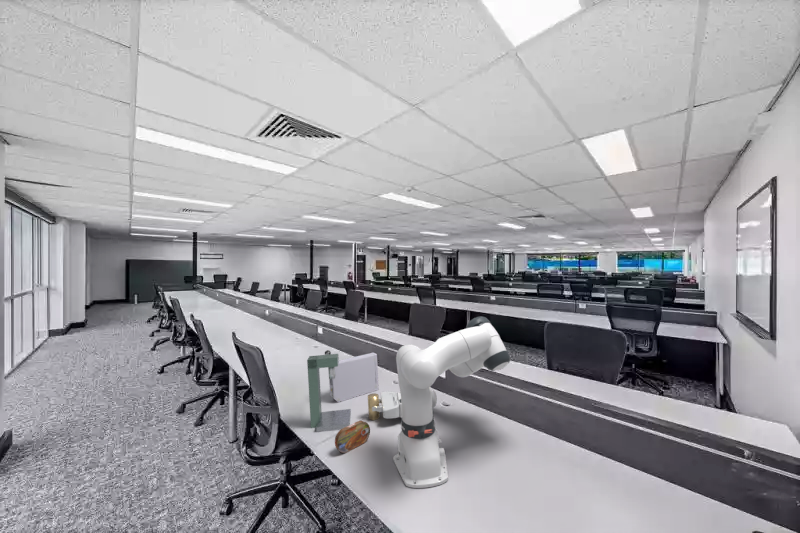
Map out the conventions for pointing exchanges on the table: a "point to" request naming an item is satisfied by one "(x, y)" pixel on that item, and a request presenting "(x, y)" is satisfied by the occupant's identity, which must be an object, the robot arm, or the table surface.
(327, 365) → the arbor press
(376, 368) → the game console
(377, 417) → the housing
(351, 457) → the table surface
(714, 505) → the table surface
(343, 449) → the tin
